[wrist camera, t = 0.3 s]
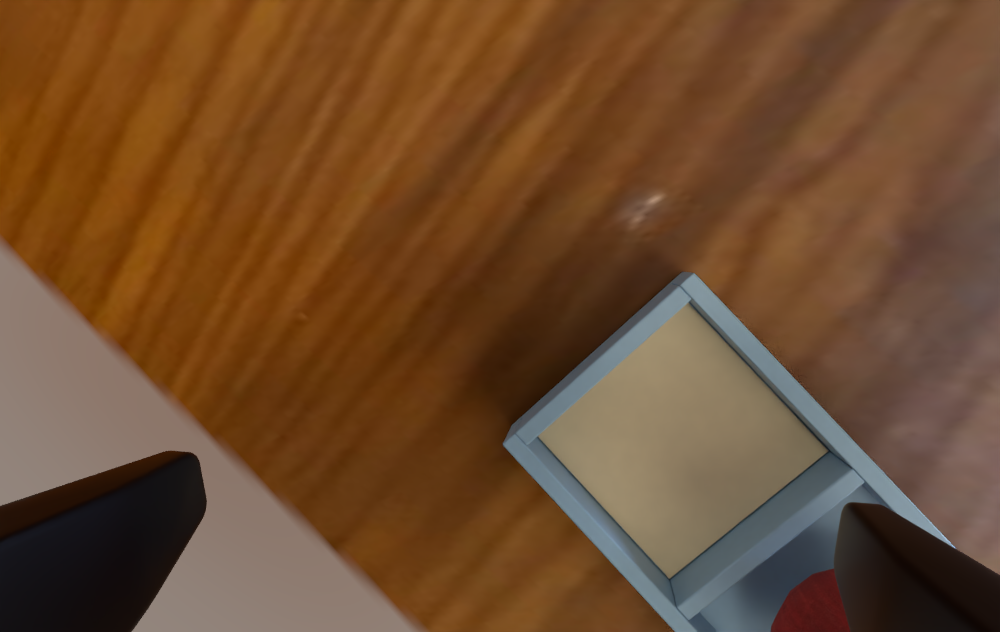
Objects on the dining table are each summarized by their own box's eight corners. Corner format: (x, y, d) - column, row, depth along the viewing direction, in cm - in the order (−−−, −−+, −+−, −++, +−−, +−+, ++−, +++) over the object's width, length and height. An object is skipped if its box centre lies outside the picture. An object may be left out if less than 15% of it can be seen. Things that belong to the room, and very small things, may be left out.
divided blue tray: (813, 753, 23) (840, 811, 21) (510, 425, 24) (501, 444, 21) (1008, 614, 22) (1061, 659, 19) (682, 270, 22) (694, 272, 20)
